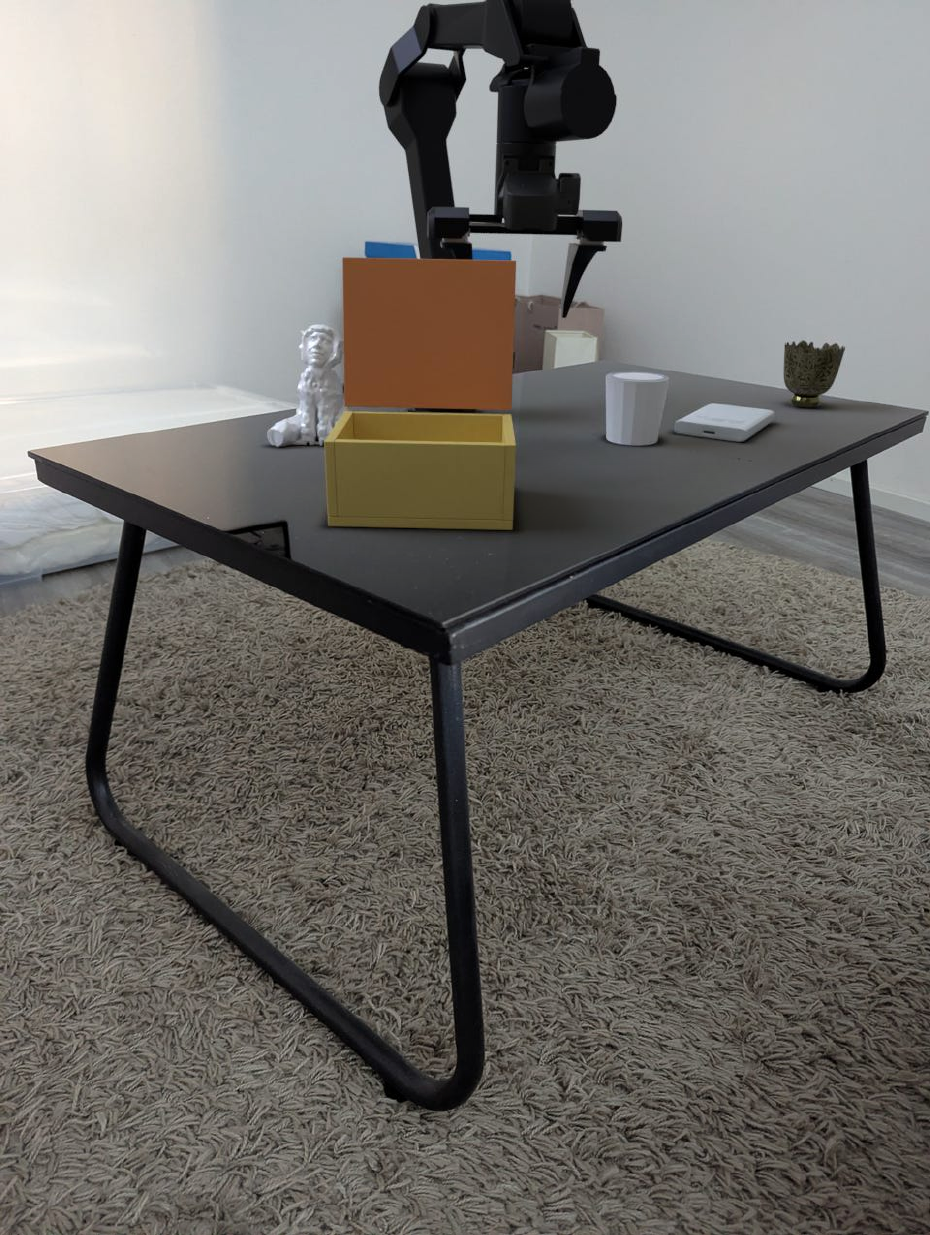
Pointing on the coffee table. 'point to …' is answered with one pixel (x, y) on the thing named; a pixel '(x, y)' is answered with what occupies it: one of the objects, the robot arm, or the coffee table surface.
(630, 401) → the shot glass
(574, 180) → the robot arm
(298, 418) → the sitting furry creature
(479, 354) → the lid
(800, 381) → the cup
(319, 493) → the coffee table surface
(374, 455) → the open yellow box
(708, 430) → the hard drive
